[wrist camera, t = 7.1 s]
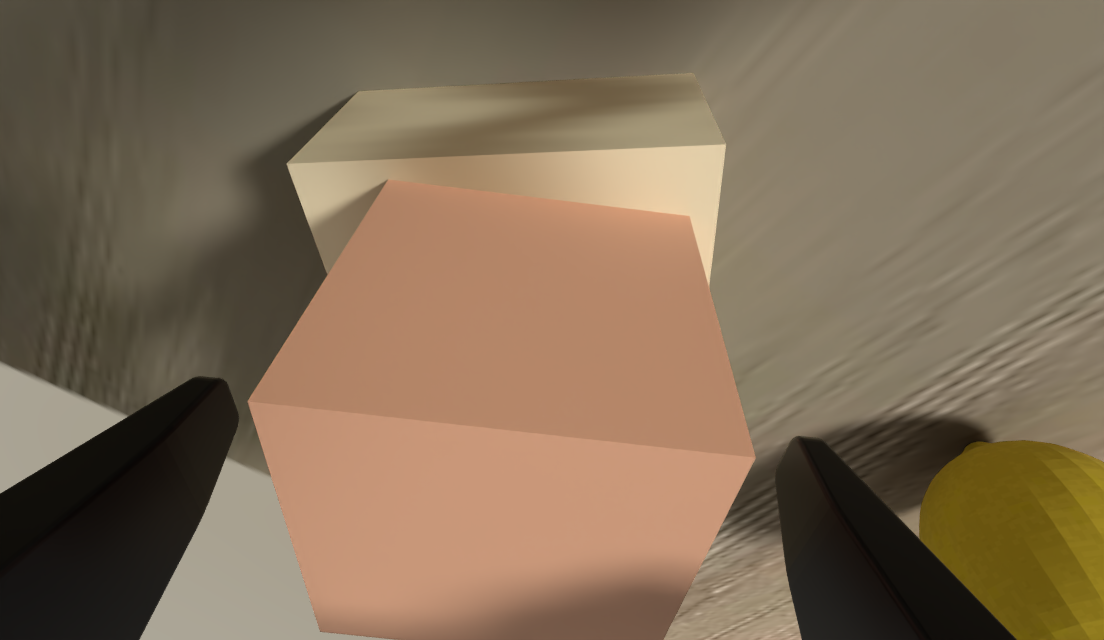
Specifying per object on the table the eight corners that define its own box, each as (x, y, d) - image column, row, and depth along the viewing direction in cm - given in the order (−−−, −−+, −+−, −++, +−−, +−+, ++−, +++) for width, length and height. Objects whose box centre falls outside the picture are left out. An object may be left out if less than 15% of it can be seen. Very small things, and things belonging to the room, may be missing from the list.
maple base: (691, 68, 12) (725, 144, 9) (671, 331, 16) (690, 443, 13) (362, 87, 13) (286, 163, 10) (427, 335, 17) (389, 444, 14)
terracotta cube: (689, 215, 10) (756, 457, 6) (631, 418, 13) (650, 666, 9) (387, 179, 10) (247, 401, 6) (404, 392, 13) (319, 631, 9)
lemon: (846, 486, 20) (965, 779, 13) (941, 367, 16) (1159, 688, 10) (1001, 509, 20) (1188, 807, 14) (1125, 398, 17) (1451, 727, 10)
